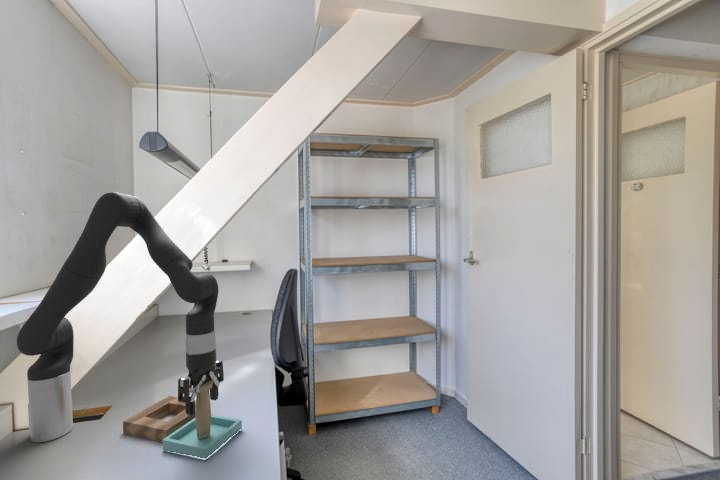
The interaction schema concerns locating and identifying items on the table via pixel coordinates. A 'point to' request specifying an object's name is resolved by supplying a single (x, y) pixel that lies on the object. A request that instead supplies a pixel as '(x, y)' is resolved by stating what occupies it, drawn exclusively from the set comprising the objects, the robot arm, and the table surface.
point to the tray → (192, 445)
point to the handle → (203, 410)
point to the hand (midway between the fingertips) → (202, 406)
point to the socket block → (158, 420)
